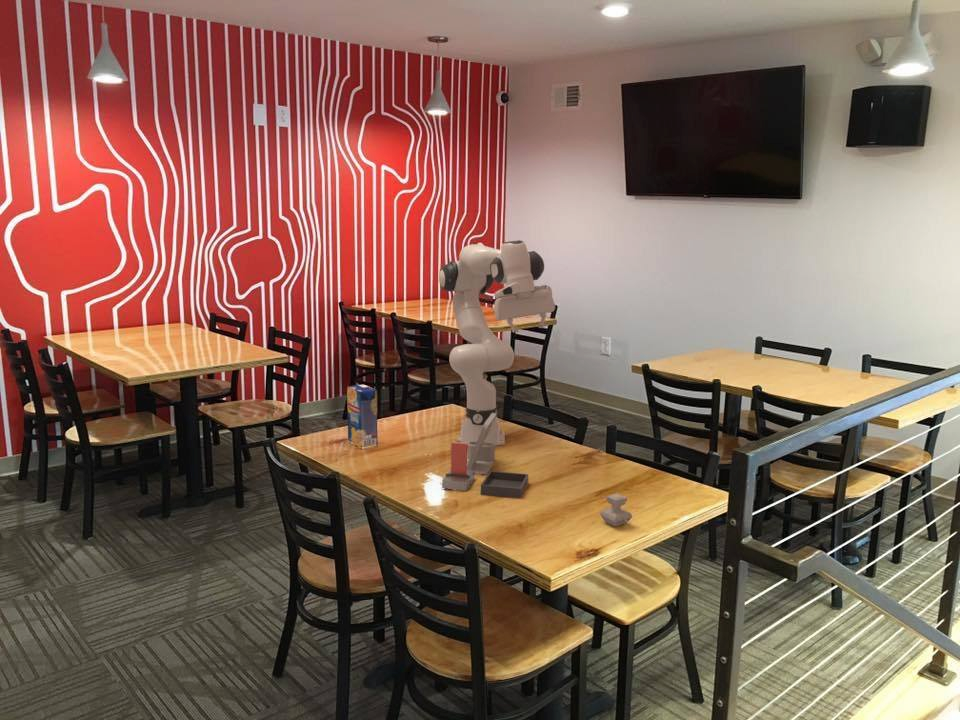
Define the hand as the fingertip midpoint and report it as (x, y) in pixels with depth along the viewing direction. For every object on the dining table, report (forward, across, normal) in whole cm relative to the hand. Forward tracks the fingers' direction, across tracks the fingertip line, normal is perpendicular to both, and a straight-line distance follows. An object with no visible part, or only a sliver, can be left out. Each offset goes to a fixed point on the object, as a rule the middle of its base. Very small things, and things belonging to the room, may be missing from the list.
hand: (528, 329), depth 255 cm
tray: (+50, +17, -1) cm, 52 cm away
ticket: (+46, +30, -8) cm, 56 cm away
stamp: (+61, -4, +32) cm, 69 cm away
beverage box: (+31, +54, -57) cm, 84 cm away
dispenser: (+46, +30, -8) cm, 56 cm away
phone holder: (+44, +19, -24) cm, 53 cm away
